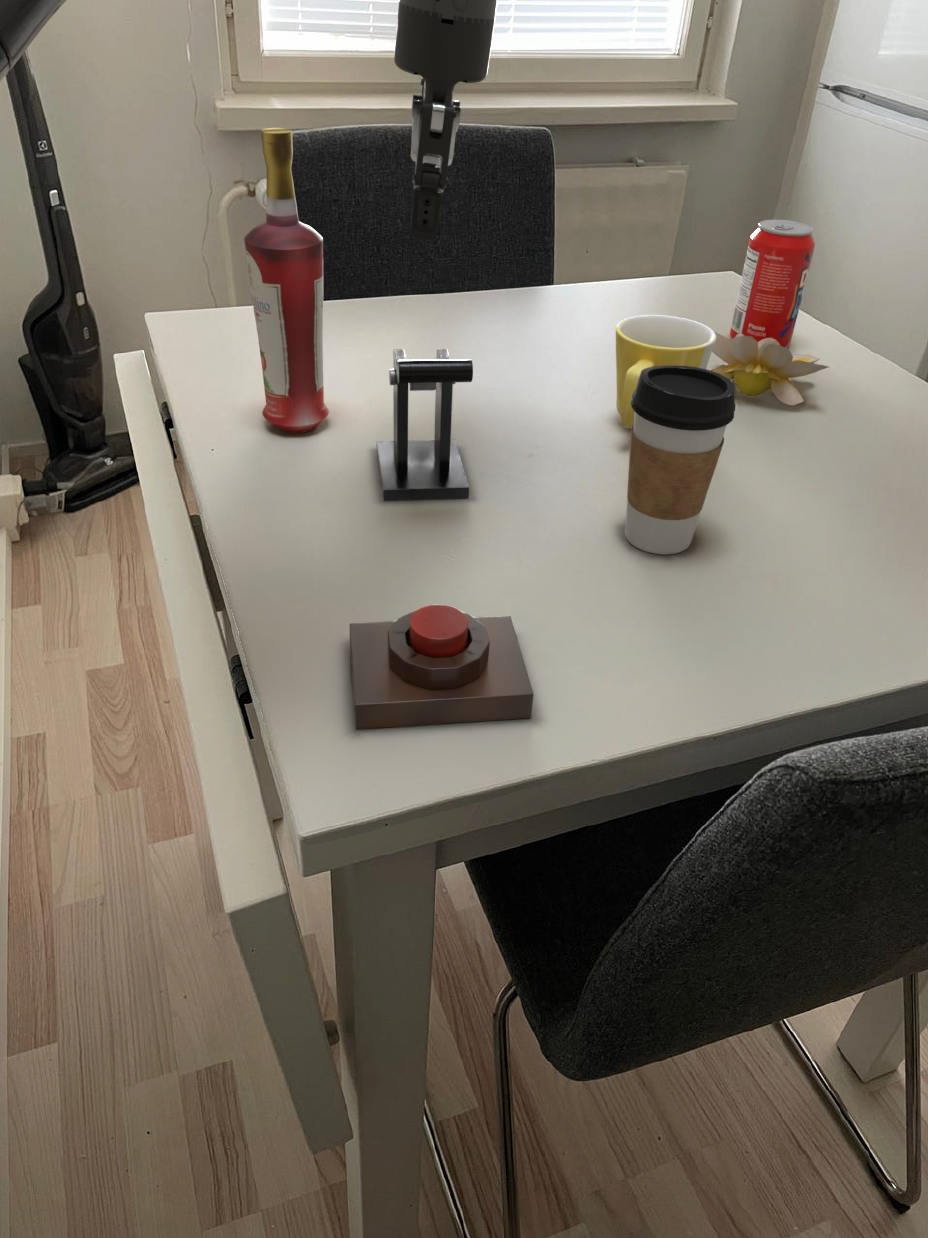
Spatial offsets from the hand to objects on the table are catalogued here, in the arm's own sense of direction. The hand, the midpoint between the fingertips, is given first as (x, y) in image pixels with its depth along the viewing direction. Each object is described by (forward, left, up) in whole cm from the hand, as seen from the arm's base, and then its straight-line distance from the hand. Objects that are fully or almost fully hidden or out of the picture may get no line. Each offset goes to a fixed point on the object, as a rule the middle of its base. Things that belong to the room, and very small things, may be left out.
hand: (422, 222), depth 83 cm
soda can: (+48, +29, -23) cm, 60 cm away
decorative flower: (+42, +14, -23) cm, 49 cm away
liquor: (-12, +8, -23) cm, 27 cm away
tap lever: (0, -9, -11) cm, 15 cm away
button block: (-2, -35, -22) cm, 42 cm away
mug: (+25, +5, -23) cm, 34 cm away
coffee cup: (+20, -17, -23) cm, 35 cm away
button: (-2, -35, -19) cm, 40 cm away
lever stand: (0, -4, -22) cm, 23 cm away
